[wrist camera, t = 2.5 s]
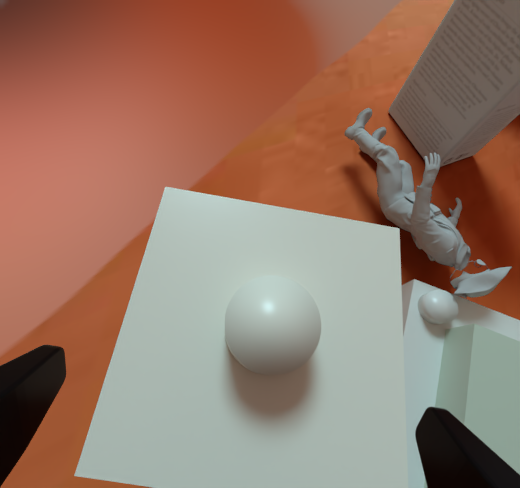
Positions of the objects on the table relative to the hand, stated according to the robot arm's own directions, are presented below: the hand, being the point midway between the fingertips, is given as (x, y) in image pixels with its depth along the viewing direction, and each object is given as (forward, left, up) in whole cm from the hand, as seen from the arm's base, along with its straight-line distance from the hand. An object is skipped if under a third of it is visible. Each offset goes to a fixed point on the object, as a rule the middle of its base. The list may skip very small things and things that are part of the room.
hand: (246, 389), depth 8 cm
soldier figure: (+13, -6, -9) cm, 17 cm away
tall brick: (+1, 0, -9) cm, 9 cm away
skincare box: (+21, -7, -9) cm, 24 cm away
